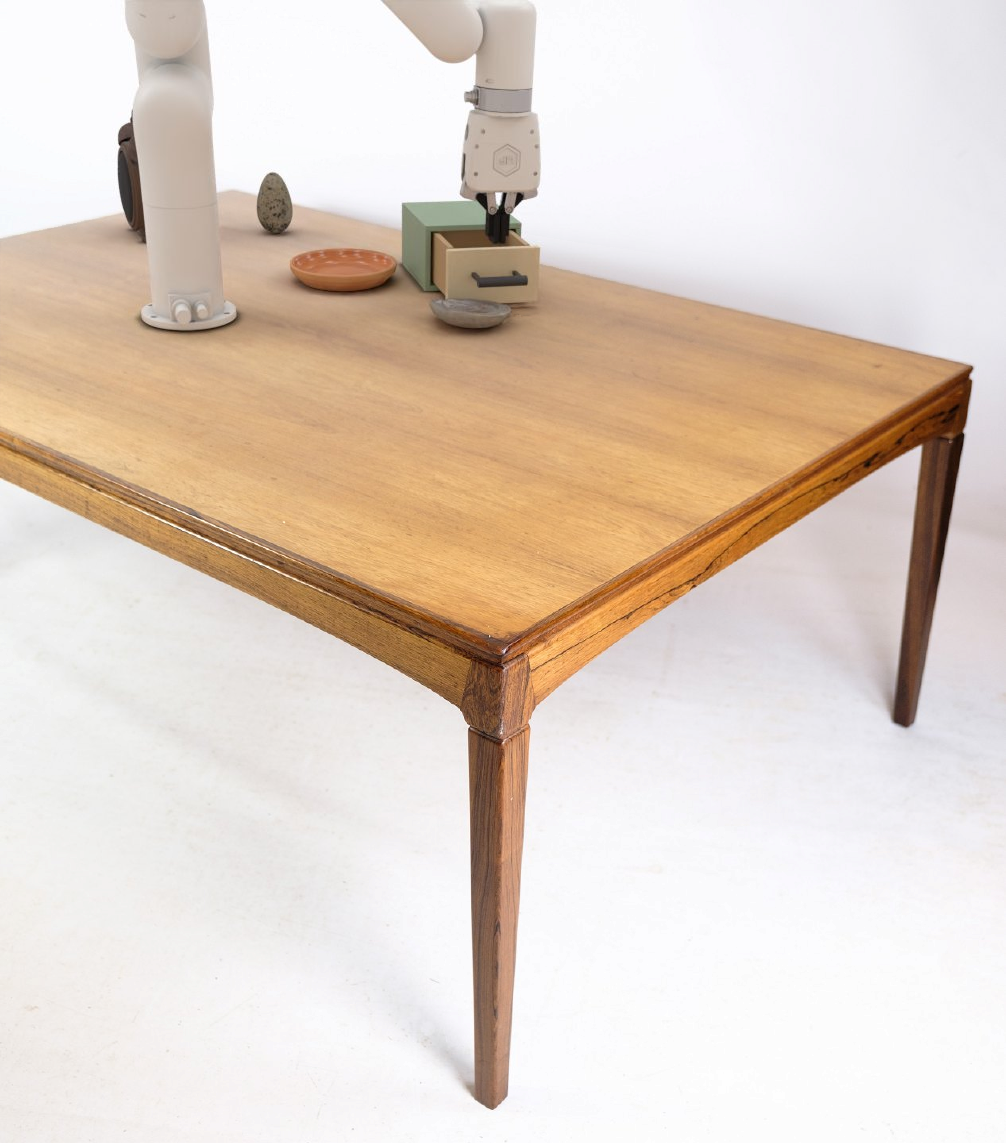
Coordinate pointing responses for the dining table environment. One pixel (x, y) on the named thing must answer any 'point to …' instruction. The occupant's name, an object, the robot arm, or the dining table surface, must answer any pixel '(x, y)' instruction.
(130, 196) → the alarm clock
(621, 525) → the dining table surface
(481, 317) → the fossil
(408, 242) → the cabinet
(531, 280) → the drawer
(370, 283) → the saucer
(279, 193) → the decorative egg
